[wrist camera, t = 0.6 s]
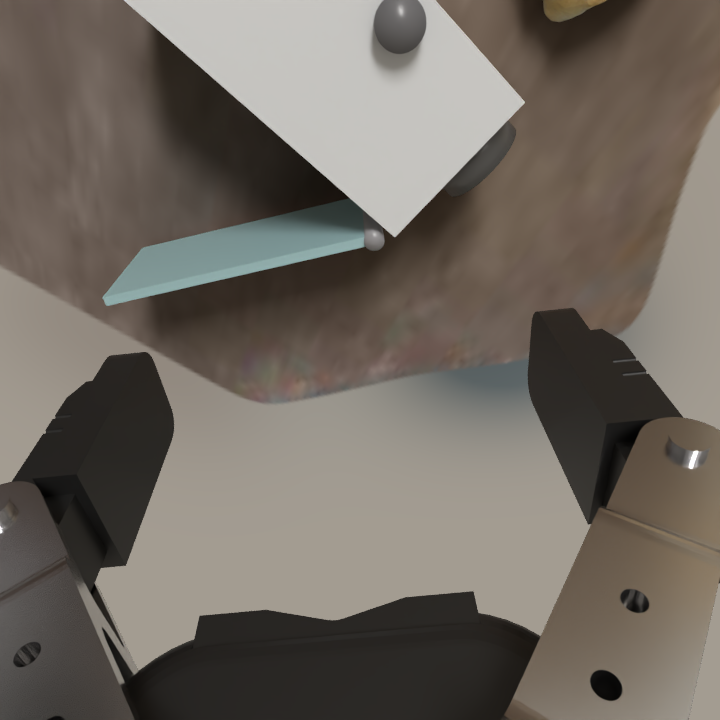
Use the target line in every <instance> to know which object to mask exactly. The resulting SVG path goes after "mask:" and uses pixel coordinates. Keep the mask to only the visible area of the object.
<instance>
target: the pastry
mask: <svg viewBox="0 0 720 720" xmlns="http://www.w3.org/2000/svg"><path fill="white" fill-rule="evenodd" d="M605 1H607V0H543V6H544V12H545V15H546V16H547V17H548V18H549V19H550V20H551V21H556V22H562V21H565V20H568V19H571V18H573V17H575V16H578V15H580V14H582V13H584V12H585V11H586V10H587V9H590V8H592V7H593V6H596V5H598V4H601V3H603V2H605Z"/></svg>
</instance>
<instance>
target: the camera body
mask: <svg viewBox="0 0 720 720" xmlns="http://www.w3.org/2000/svg"><path fill="white" fill-rule="evenodd" d="M124 1H125V2H126V3H128V4H129V5H130V6H131V7H132V8H133V9H134V10H136V11H137V12H138V13H139V14H140V15H141V16H142V17H144V18H145V19H146V20H147V21H148V22H149V23H150V24H152V25H153V26H154V27H155V28H156V29H157V30H158V31H160V32H161V33H162V34H163V35H164V36H165V37H166V38H168V39H169V40H170V41H171V42H172V43H173V44H174V45H176V46H177V47H178V48H179V49H180V50H181V51H182V52H184V53H185V54H186V55H187V56H188V57H189V58H190V59H192V60H193V61H194V62H195V63H196V64H197V65H198V66H200V67H201V68H202V69H203V70H204V71H205V72H206V73H208V74H209V75H210V76H211V77H212V78H213V79H214V80H216V81H217V82H218V83H219V84H220V85H221V86H222V87H224V88H225V89H226V90H227V91H228V92H229V93H230V94H232V95H233V96H234V97H235V98H236V99H237V100H238V101H239V102H241V103H242V104H243V105H244V106H245V107H246V108H247V109H249V110H250V111H251V112H252V113H253V114H254V115H255V116H257V117H258V118H259V119H260V120H261V121H262V122H263V123H265V124H266V125H267V126H268V127H269V128H270V129H271V130H273V131H274V132H275V133H276V134H277V135H278V136H279V137H281V138H282V139H283V140H284V141H285V142H286V143H287V144H289V145H290V146H291V147H292V148H293V149H294V150H295V151H297V152H298V153H299V154H300V155H301V156H302V157H303V158H305V159H306V160H307V161H308V162H309V163H310V164H311V165H313V166H314V167H315V168H316V169H317V170H318V171H319V172H321V173H322V174H323V175H324V176H325V177H326V178H327V179H329V180H330V181H331V182H332V183H333V184H334V185H335V186H337V187H338V188H339V189H340V190H341V191H342V192H343V193H345V194H346V195H347V196H348V197H349V198H350V199H351V200H353V201H354V202H355V203H356V204H357V205H358V206H359V207H361V208H362V209H363V210H364V211H365V212H366V213H367V214H369V215H370V216H371V217H372V218H373V219H374V220H375V221H377V222H378V223H379V224H380V225H381V226H382V227H383V228H385V229H386V230H387V231H388V232H389V233H390V234H391V235H393V236H394V237H396V236H397V235H398V234H399V233H400V232H401V231H402V230H403V229H404V228H405V227H406V225H407V224H408V223H409V222H410V221H411V220H412V219H413V218H414V217H415V216H416V215H417V214H418V213H419V212H420V211H421V210H422V209H423V208H424V207H425V206H426V205H427V204H428V203H429V202H430V201H431V200H432V198H433V197H434V196H435V195H436V194H437V193H438V192H439V191H440V190H441V189H442V188H443V189H444V190H445V191H446V192H447V193H448V194H449V195H450V196H453V197H455V196H460V195H462V194H464V193H466V192H468V191H469V190H471V189H472V188H474V187H475V186H476V185H478V184H479V183H480V182H481V181H482V180H483V179H485V178H486V177H487V176H488V175H489V174H490V173H491V172H492V171H493V170H494V169H495V167H496V166H497V165H498V164H499V163H500V162H501V160H502V159H503V158H504V156H505V155H506V154H507V152H508V151H509V149H510V147H511V145H512V143H513V141H514V139H515V136H516V129H515V128H514V126H513V125H512V124H511V123H510V122H509V121H508V120H509V119H510V117H511V116H512V115H513V114H514V113H515V112H516V111H517V110H518V109H519V108H520V107H521V106H522V105H523V104H524V103H525V102H524V101H523V99H522V98H521V97H520V96H519V95H518V94H517V93H516V91H515V90H514V89H513V88H512V87H511V86H510V85H509V83H508V82H507V81H506V80H505V79H504V78H503V77H502V76H501V74H500V73H499V72H498V71H497V70H496V69H495V68H494V66H493V65H492V64H491V63H490V62H489V61H488V60H487V58H486V57H485V56H484V55H483V54H482V53H481V52H480V51H479V49H478V48H477V47H476V46H475V45H474V44H473V43H472V41H471V40H470V39H469V38H468V37H467V36H466V35H465V33H464V32H463V31H462V30H461V29H460V28H459V27H458V25H457V24H456V23H455V22H454V21H453V20H452V19H451V18H450V16H449V15H448V14H447V13H446V12H445V11H444V10H443V8H442V7H441V6H440V5H439V4H438V3H437V2H436V0H124Z"/></svg>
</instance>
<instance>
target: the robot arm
mask: <svg viewBox="0 0 720 720" xmlns="http://www.w3.org/2000/svg"><path fill="white" fill-rule="evenodd" d="M528 386H529V393H530V397H531V400H532V403H533V406H534V408H535V410H536V412H537V414H538V416H539V418H540V421H541V423H542V425H543V427H544V429H545V432H546V434H547V436H548V438H549V440H550V442H551V444H552V447H553V449H554V451H555V453H556V455H557V458H558V460H559V462H560V464H561V466H562V469H563V471H564V473H565V475H566V477H567V479H568V482H569V484H570V486H571V488H572V490H573V493H574V495H575V497H576V499H577V501H578V503H579V506H580V508H581V510H582V512H583V514H584V516H585V519H586V521H587V523H588V524H591V526H590V529H589V531H588V533H587V535H586V537H585V540H584V542H583V544H582V546H581V548H580V551H579V553H578V555H577V557H576V559H575V562H574V564H573V566H572V568H571V571H570V573H569V575H568V577H567V580H566V582H565V584H564V586H563V588H562V590H561V593H560V595H559V597H558V599H557V602H556V604H555V606H554V608H553V610H552V613H551V615H550V617H549V619H548V621H547V624H546V626H545V628H544V630H543V633H542V635H541V636H539V635H537V634H536V633H534V632H532V631H530V630H528V629H527V628H525V627H523V626H520V625H517V624H515V623H513V622H510V621H508V620H505V619H501V618H498V617H494V616H491V615H486V614H480V613H478V610H477V605H476V601H475V596H474V592H462V593H450V594H439V595H427V596H416V597H405V598H403V599H399V600H397V601H394V602H391V603H388V604H385V605H382V606H379V607H376V608H373V609H370V610H367V611H365V612H361V613H359V614H356V615H353V616H350V617H347V618H344V619H340V620H334V621H331V620H323V619H317V618H311V617H305V616H299V615H293V614H287V613H281V612H275V611H269V610H261V611H249V612H239V613H228V614H215V615H204V616H200V617H199V621H198V626H197V630H196V635H195V639H194V640H191V641H189V642H186V643H184V644H182V645H180V646H178V647H175V648H173V649H171V650H169V651H168V652H166V653H164V654H163V655H161V656H159V657H158V658H156V659H154V660H153V661H152V662H150V663H149V664H148V665H146V666H145V667H144V668H142V669H141V670H138V668H137V667H136V665H135V663H134V661H133V659H132V657H131V655H130V652H129V650H128V648H127V646H126V644H125V642H124V640H123V638H122V636H121V633H120V631H119V629H118V627H117V625H116V623H115V621H114V619H113V617H112V614H111V612H110V610H109V608H108V606H107V604H106V602H105V599H104V597H103V595H102V593H101V591H100V589H99V588H98V586H97V584H96V583H95V580H96V578H97V576H98V573H99V571H100V568H104V567H115V566H126V564H127V561H128V558H129V555H130V553H131V550H132V547H133V544H134V541H135V539H136V536H137V534H138V531H139V528H140V525H141V523H142V520H143V517H144V514H145V512H146V509H147V506H148V503H149V501H150V498H151V495H152V493H153V490H154V487H155V484H156V482H157V479H158V476H159V473H160V471H161V468H162V465H163V463H164V460H165V457H166V454H167V452H168V449H169V446H170V443H171V441H172V437H173V432H174V418H173V413H172V409H171V406H170V404H169V401H168V398H167V396H166V393H165V390H164V387H163V385H162V383H161V379H160V377H159V374H158V372H157V369H156V366H155V364H154V361H153V359H152V357H151V356H150V355H149V354H148V353H146V352H141V353H131V354H122V355H112V356H109V357H108V358H107V359H106V360H105V362H104V363H103V365H102V366H101V368H100V370H99V372H98V373H97V375H96V376H95V378H94V379H93V381H89V382H85V383H84V384H83V385H82V386H81V387H79V388H78V389H77V390H76V391H75V392H74V393H72V394H71V395H70V396H68V397H67V398H66V400H65V401H64V403H63V404H62V406H61V407H60V409H59V410H58V412H57V414H56V415H55V417H56V418H55V419H53V420H52V421H51V423H50V424H49V426H48V427H47V429H46V434H43V435H42V436H41V438H40V440H39V441H38V442H37V444H36V446H35V447H34V449H33V450H32V452H31V453H30V455H29V456H28V458H27V459H26V461H25V462H24V464H23V465H22V467H21V469H20V470H19V471H18V473H17V475H16V476H15V478H14V479H13V481H12V482H9V483H5V484H1V485H0V720H688V719H689V715H690V710H691V706H692V702H693V696H694V692H695V688H696V683H697V679H698V674H699V670H700V665H701V660H702V656H703V652H704V647H705V643H706V638H707V634H708V629H709V624H710V620H711V616H712V610H713V607H714V602H715V597H716V593H717V588H718V584H719V583H720V430H718V429H716V428H715V427H713V426H711V425H708V424H706V423H703V422H700V421H697V420H693V419H688V418H683V417H682V415H681V414H680V413H679V411H678V410H677V409H676V408H675V406H674V405H673V404H672V403H671V401H670V400H669V399H668V398H667V396H666V395H665V394H664V392H663V391H662V390H661V389H660V387H659V386H658V385H657V384H656V382H655V381H654V380H653V379H652V377H651V376H650V375H649V374H646V370H645V368H644V367H643V366H642V365H641V363H640V362H639V361H636V357H635V356H634V355H633V353H632V352H631V351H630V349H629V348H628V347H627V346H626V345H625V343H624V342H623V341H621V340H619V339H618V338H616V337H615V336H613V335H611V334H610V333H608V332H606V331H605V330H603V329H598V330H590V329H589V328H588V326H587V325H586V324H585V322H584V321H583V320H582V318H581V317H580V315H579V314H578V313H577V311H576V310H575V309H574V308H567V309H558V310H548V311H539V312H535V313H534V315H533V319H532V326H531V339H530V352H529V366H528Z"/></svg>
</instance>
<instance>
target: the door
mask: <svg viewBox="0 0 720 720" xmlns="http://www.w3.org/2000/svg"><path fill="white" fill-rule="evenodd" d="M383 245H384V234H383V227H382V226H381V225H380V224H379V223H378V222H377V221H375V220H374V219H373V218H372V217H371V216H370V215H369V214H367V213H366V212H365V211H364V210H363V209H362V208H361V207H359V206H358V205H357V204H356V203H355V202H354V201H353V200H351V199H350V198H348V199H344V200H340V201H336V202H332V203H328V204H323V205H319V206H315V207H311V208H307V209H303V210H298V211H294V212H290V213H286V214H282V215H277V216H273V217H269V218H265V219H261V220H257V221H252V222H248V223H244V224H240V225H236V226H232V227H227V228H223V229H219V230H215V231H211V232H207V233H202V234H198V235H194V236H190V237H186V238H182V239H177V240H173V241H169V242H165V243H161V244H156V245H152V246H148V247H144V248H142V249H141V250H140V252H139V253H138V254H137V255H136V257H135V258H134V259H133V260H132V261H131V263H130V264H129V265H128V266H127V268H126V269H125V270H124V271H123V273H122V274H121V275H120V276H119V278H118V279H117V280H116V281H115V283H114V284H113V285H112V286H111V287H110V289H109V290H108V291H107V292H106V294H105V295H104V296H103V297H102V298H103V300H104V302H105V303H106V305H107V306H109V305H113V304H117V303H122V302H126V301H131V300H135V299H139V298H144V297H148V296H152V295H157V294H161V293H165V292H170V291H174V290H179V289H183V288H187V287H192V286H196V285H200V284H205V283H209V282H213V281H218V280H222V279H227V278H231V277H235V276H240V275H244V274H248V273H253V272H257V271H262V270H266V269H270V268H275V267H279V266H283V265H288V264H292V263H296V262H301V261H305V260H310V259H314V258H318V257H323V256H327V255H331V254H336V253H340V252H344V251H349V250H353V249H358V248H362V247H366V248H367V249H369V250H371V251H377V250H379V249H381V248H382V247H383Z"/></svg>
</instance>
